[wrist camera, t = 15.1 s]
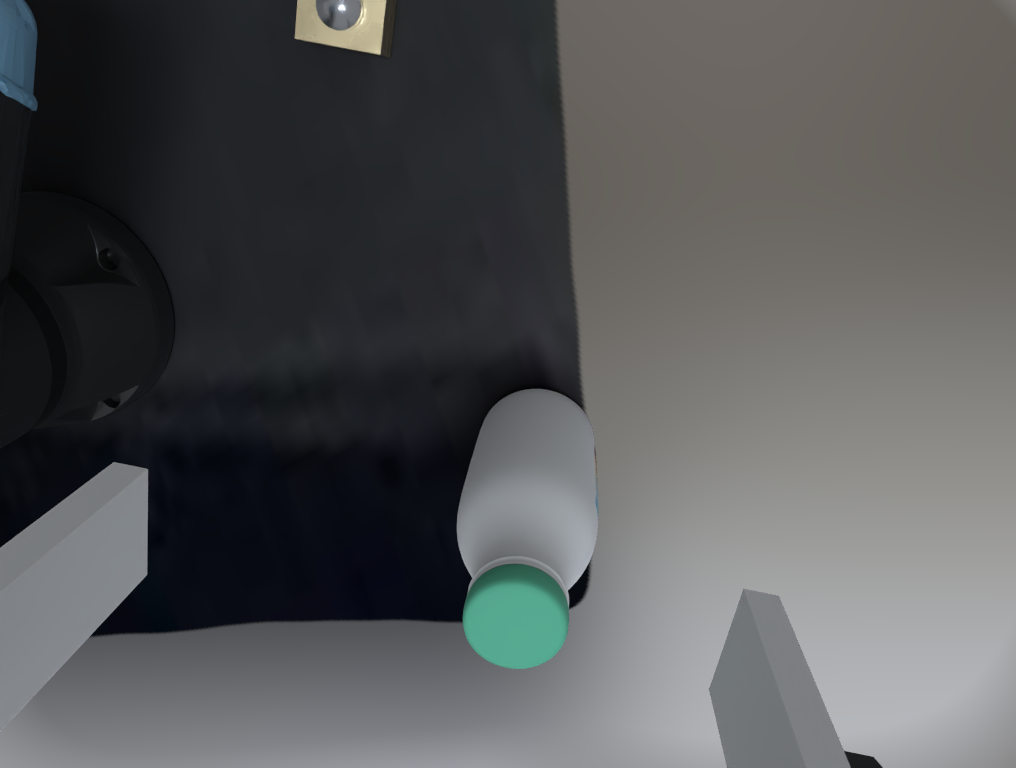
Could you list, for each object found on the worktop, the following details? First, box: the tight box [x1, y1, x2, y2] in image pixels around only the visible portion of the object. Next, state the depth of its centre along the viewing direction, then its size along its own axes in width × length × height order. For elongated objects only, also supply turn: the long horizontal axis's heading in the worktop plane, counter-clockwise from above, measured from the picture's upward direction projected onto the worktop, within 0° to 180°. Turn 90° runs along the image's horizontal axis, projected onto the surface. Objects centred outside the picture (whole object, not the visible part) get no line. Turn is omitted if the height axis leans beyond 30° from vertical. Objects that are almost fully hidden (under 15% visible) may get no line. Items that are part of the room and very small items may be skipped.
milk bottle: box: [457, 389, 598, 669], centre depth 41 cm, size 8×8×20 cm
